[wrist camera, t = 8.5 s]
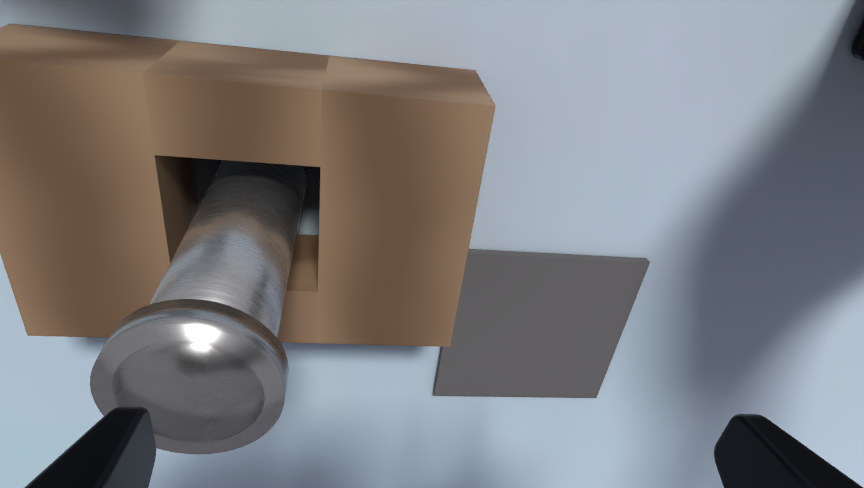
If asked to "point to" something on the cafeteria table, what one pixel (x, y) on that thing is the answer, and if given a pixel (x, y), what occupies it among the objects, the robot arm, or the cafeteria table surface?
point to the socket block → (236, 141)
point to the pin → (213, 319)
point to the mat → (537, 324)
